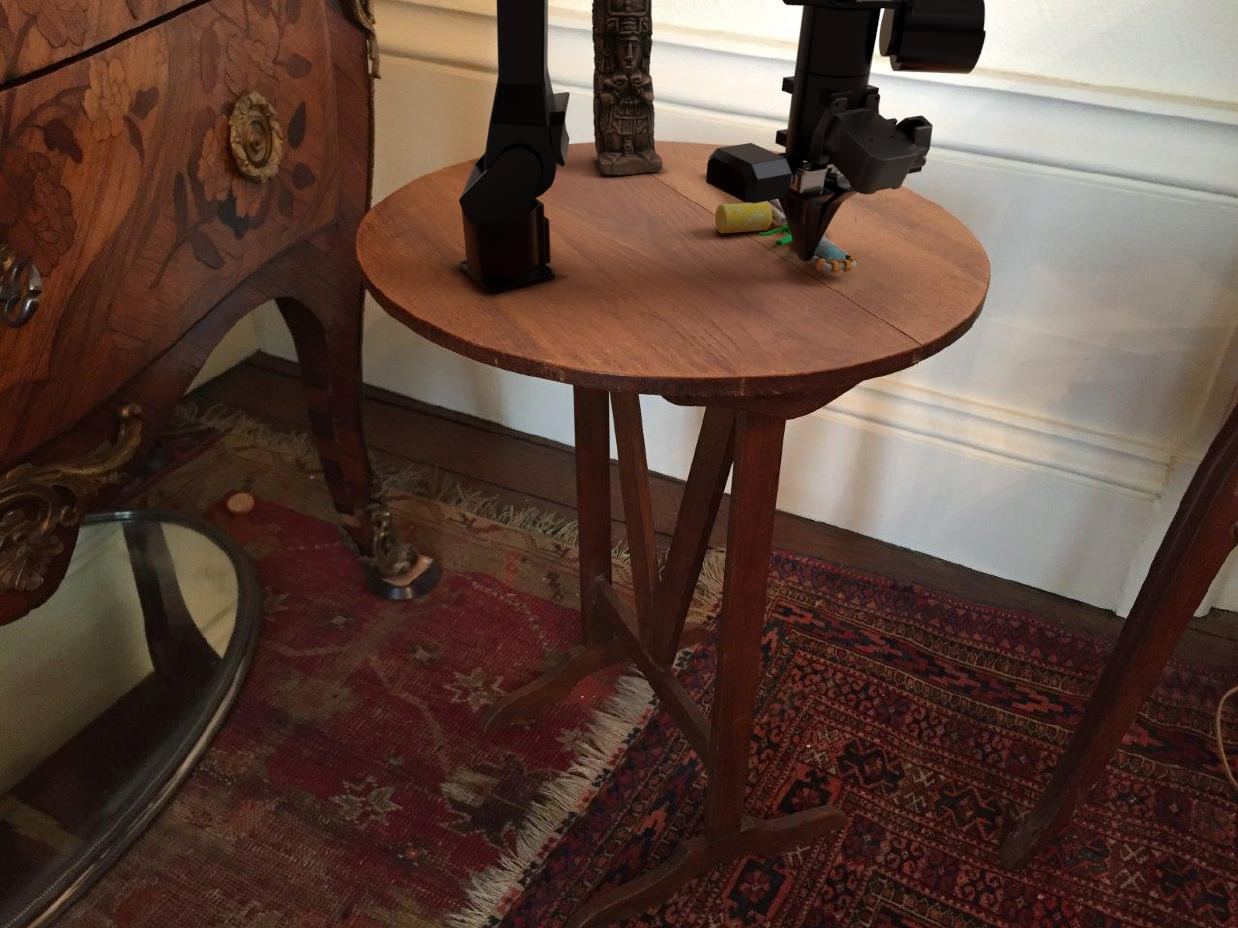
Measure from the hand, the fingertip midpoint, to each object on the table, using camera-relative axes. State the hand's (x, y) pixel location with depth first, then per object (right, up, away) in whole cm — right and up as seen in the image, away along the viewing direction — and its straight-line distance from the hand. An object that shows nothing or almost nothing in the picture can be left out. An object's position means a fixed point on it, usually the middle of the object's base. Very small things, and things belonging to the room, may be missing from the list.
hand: (804, 260), depth 83 cm
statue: (-15, +16, +25) cm, 33 cm away
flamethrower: (-2, +6, +11) cm, 13 cm away
